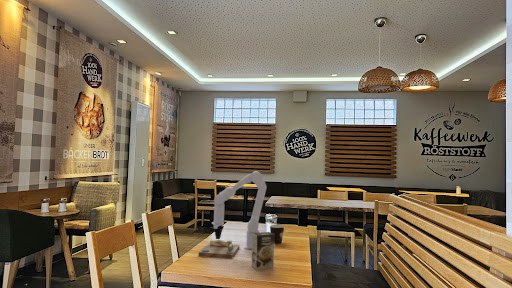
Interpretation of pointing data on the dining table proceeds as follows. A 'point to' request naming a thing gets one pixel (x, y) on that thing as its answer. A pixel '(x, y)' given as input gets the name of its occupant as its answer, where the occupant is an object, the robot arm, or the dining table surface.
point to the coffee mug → (277, 233)
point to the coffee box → (263, 250)
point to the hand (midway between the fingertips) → (218, 238)
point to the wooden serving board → (219, 251)
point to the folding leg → (220, 243)
